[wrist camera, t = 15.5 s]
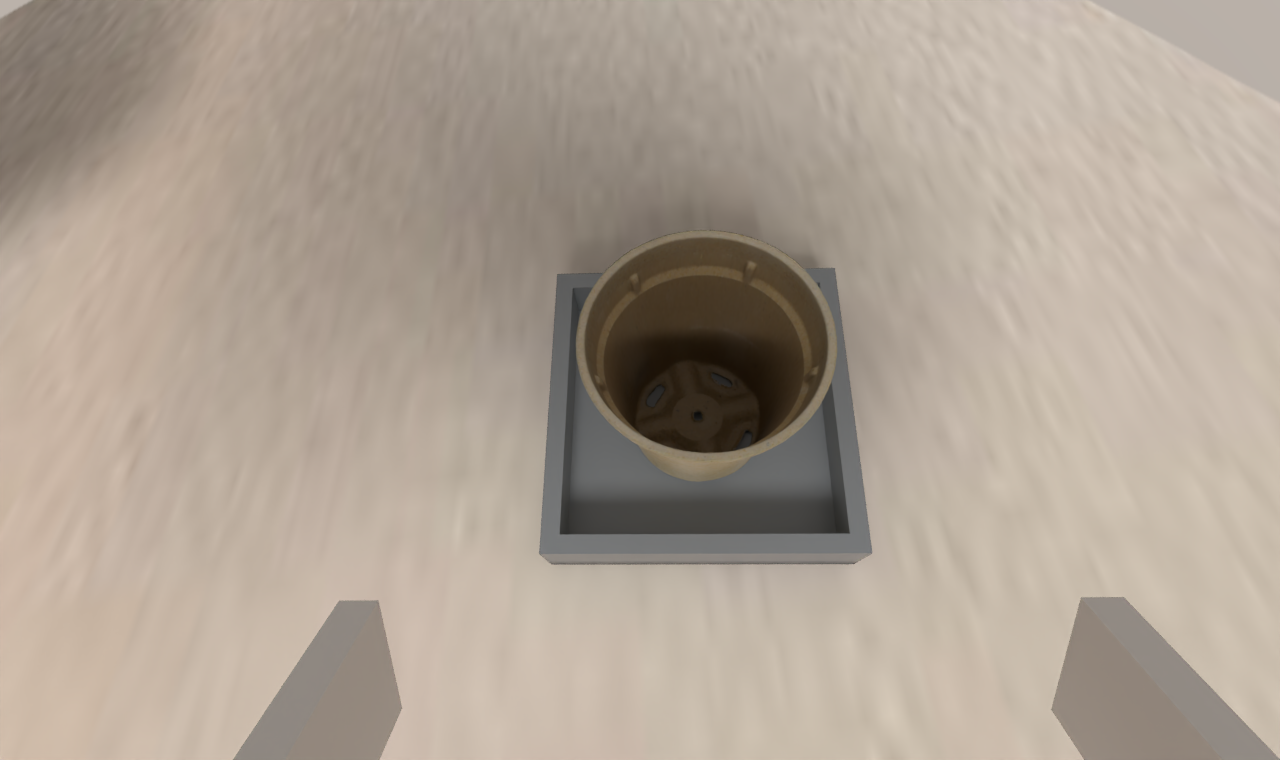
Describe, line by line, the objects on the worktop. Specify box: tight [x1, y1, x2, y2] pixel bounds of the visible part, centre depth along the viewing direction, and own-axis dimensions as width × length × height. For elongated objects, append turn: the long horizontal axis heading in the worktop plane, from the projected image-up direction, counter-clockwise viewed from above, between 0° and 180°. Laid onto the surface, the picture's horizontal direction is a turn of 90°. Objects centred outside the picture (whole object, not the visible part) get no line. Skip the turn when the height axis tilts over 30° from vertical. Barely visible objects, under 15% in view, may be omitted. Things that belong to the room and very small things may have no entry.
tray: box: [539, 268, 872, 564], centre depth 31 cm, size 14×14×3 cm
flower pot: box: [576, 230, 837, 482], centre depth 28 cm, size 9×9×9 cm
